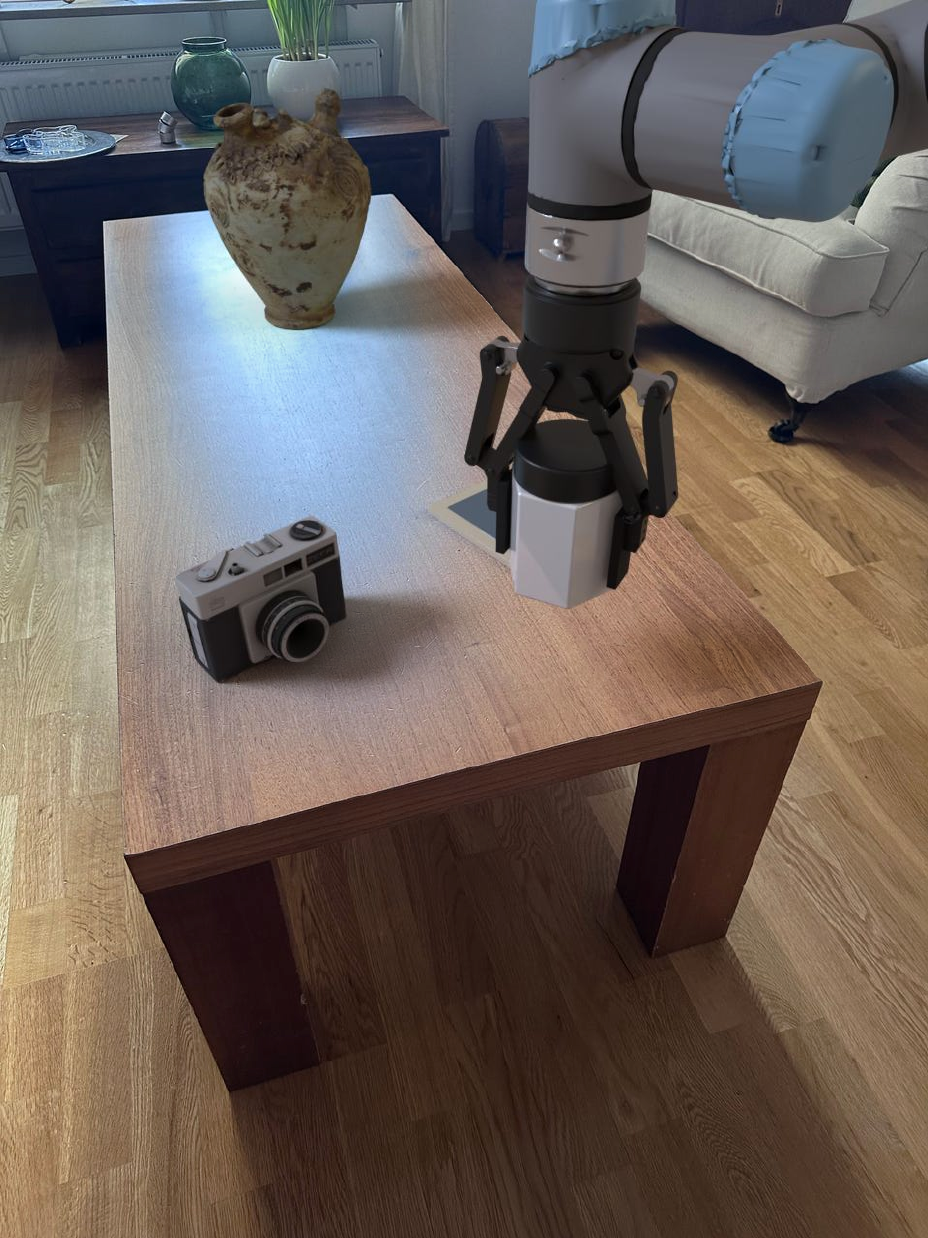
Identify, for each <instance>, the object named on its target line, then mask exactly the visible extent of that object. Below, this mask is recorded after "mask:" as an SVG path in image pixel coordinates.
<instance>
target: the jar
mask: <svg viewBox="0 0 928 1238" xmlns="http://www.w3.org/2000/svg"><path fill="white" fill-rule="evenodd" d="M511 468H512V487H511V518H510V549H509V562H510V568H511V569H510V568H509V569H510V573H511V579H512V586H513V591H514V594H515V595H517V596H520V597H523V598H526V599H527V598H528V599H531V600H534V601H538V602H540V603H544V604H547V605H551V606H555V607H557V608H561V609H564V610H570V609H572V608H576V607H578V606H579V605H582V604H584V603H586V602H589V601H591V600H593V599H595V598H597V597H600V596H602V595H604V594H606V593H608V592H609V593H610V592H611V591H612V590H613V589H610V588H607V587H606V585H607V577H608V568H609V560H610V552H611V543H612V535H613V527H614V518H615V515H616V514H617V513H618V511H619V510H620V509H621V508H622V506H623V504H622V501H621V498H620V495H619V493H618V490H617V487H616V485H615V482H614V479H613V477H612V472H613V465H612V464H611V463H607V460H606V458H605V455H604V452H603V450H602V447H601V444H600V442H599V439H598V437H597V435H594V434H593V433H592V431H591V428H590V425H589V423H588V420H585V419H577V418H576V419H575V418H557V419H549V420H544V421H540V422H537V424H536V425H535V427H534V428H533V429H532V430H530V431H529V432H528V433H527V434H526V435H525V436H524V437H523V438H522V439H521V440H519V439H516V440H515V443H514V462H513V463H512V464H511Z"/></svg>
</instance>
